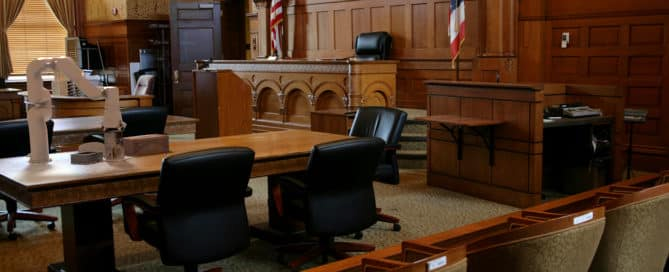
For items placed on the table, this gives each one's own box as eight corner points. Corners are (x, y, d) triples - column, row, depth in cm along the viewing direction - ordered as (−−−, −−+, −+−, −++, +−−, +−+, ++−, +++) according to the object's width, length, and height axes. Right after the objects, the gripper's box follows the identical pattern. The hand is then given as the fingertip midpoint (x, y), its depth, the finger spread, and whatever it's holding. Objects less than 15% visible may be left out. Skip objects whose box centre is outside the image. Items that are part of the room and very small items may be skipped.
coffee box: (116, 157, 413) (115, 130, 411) (124, 157, 410) (123, 130, 408) (104, 159, 405) (103, 131, 403) (112, 160, 402) (111, 132, 400)
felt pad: (100, 160, 404) (100, 159, 404) (113, 157, 415) (113, 156, 415) (117, 161, 400) (117, 160, 400) (130, 158, 411) (130, 157, 411)
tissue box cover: (156, 149, 452) (155, 134, 451) (169, 151, 443) (168, 135, 441) (120, 154, 434) (119, 138, 432) (133, 156, 424) (132, 139, 423)
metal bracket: (70, 163, 398) (70, 154, 397) (87, 159, 411) (86, 151, 410) (86, 163, 394) (86, 154, 393) (103, 160, 407) (102, 151, 406)
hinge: (81, 159, 413) (78, 142, 414) (78, 161, 416) (75, 144, 418) (108, 156, 424) (105, 140, 425) (105, 157, 427) (102, 142, 429)
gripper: (95, 108, 403) (97, 137, 405) (121, 109, 398) (122, 139, 400) (104, 107, 410) (105, 136, 412) (129, 108, 405) (130, 137, 407)
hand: (113, 137), depth 406 cm, fingers open, 9 cm apart
